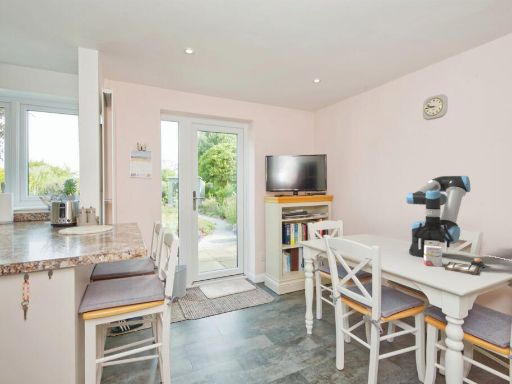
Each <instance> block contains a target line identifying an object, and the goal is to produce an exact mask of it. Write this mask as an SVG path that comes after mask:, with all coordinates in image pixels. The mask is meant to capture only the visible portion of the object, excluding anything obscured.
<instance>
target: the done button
mask: <svg viewBox="0 0 512 384" xmlns="http://www.w3.org/2000/svg"><path fill="white" fill-rule="evenodd" d="M473 260H474V262H478V263H482V261H483V258H479V257H474V258H473Z"/></svg>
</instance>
